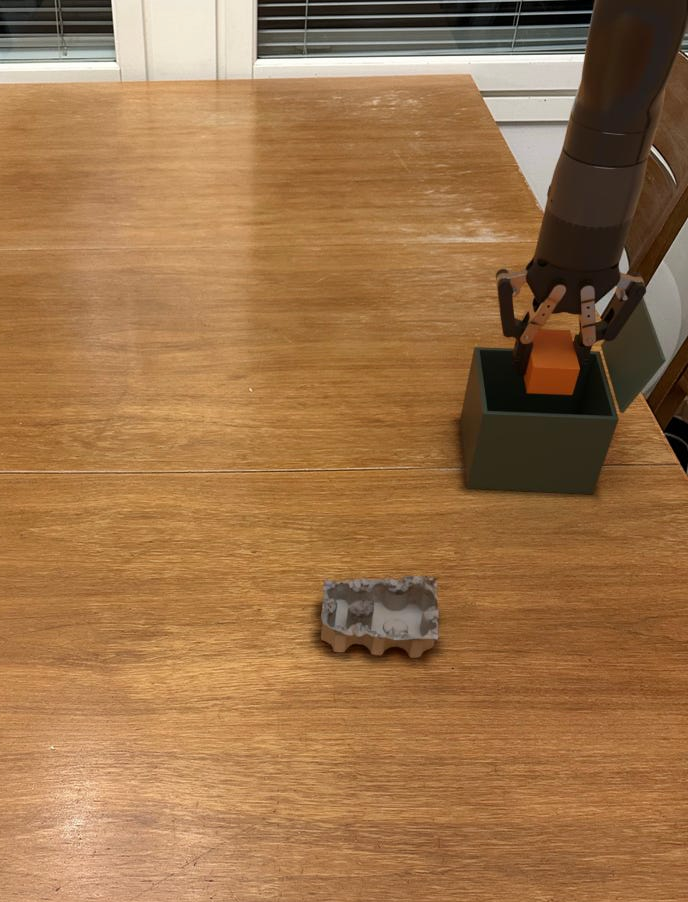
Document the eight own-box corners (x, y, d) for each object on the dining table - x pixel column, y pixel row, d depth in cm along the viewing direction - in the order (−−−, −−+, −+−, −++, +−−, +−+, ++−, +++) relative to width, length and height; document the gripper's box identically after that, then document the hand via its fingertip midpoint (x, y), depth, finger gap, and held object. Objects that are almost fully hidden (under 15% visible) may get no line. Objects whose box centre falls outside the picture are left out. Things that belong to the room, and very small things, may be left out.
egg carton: (435, 606, 92) (442, 575, 89) (433, 666, 87) (441, 635, 84) (322, 593, 94) (325, 562, 91) (314, 652, 89) (317, 621, 86)
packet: (563, 356, 101) (570, 329, 99) (572, 395, 96) (580, 368, 94) (519, 354, 102) (525, 328, 99) (526, 393, 97) (533, 367, 95)
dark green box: (577, 425, 110) (600, 351, 103) (592, 494, 102) (619, 419, 95) (459, 420, 111) (474, 346, 104) (466, 488, 103) (483, 413, 96)
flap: (600, 345, 102) (603, 346, 103) (619, 412, 95) (623, 413, 95) (639, 293, 98) (642, 294, 98) (662, 359, 90) (666, 360, 90)
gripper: (512, 221, 84) (476, 390, 97) (684, 225, 83) (625, 396, 96) (504, 183, 89) (471, 349, 102) (666, 186, 88) (612, 354, 101)
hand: (546, 371), depth 99 cm, fingers closed on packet, 4 cm apart
